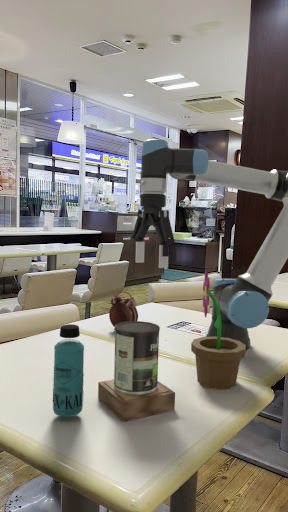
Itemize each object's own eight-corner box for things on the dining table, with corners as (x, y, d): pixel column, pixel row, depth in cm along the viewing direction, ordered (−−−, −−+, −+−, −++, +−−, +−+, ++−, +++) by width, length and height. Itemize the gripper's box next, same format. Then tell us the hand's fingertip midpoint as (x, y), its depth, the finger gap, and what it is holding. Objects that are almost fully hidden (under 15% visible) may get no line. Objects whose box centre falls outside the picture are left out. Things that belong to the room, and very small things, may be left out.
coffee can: (161, 380, 102) (163, 322, 101) (153, 397, 92) (155, 334, 91) (119, 375, 104) (121, 319, 103) (107, 392, 94) (109, 330, 93)
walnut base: (145, 388, 107) (145, 372, 107) (174, 409, 96) (175, 391, 96) (98, 398, 100) (98, 381, 100) (123, 422, 89) (124, 403, 89)
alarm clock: (138, 332, 158) (139, 292, 157) (131, 335, 154) (132, 294, 153) (115, 327, 164) (115, 289, 163) (107, 330, 160) (108, 290, 159)
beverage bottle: (54, 410, 94) (55, 321, 92) (84, 409, 94) (86, 321, 93) (50, 424, 87) (51, 329, 86) (82, 424, 88) (84, 329, 86)
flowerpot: (187, 370, 120) (192, 265, 118) (238, 372, 120) (244, 267, 117) (192, 391, 106) (197, 272, 103) (249, 394, 106) (256, 274, 103)
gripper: (122, 194, 134) (120, 260, 136) (165, 191, 113) (163, 270, 115) (143, 195, 138) (141, 260, 140) (188, 193, 117) (185, 269, 119)
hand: (151, 265), depth 127 cm, fingers open, 13 cm apart
